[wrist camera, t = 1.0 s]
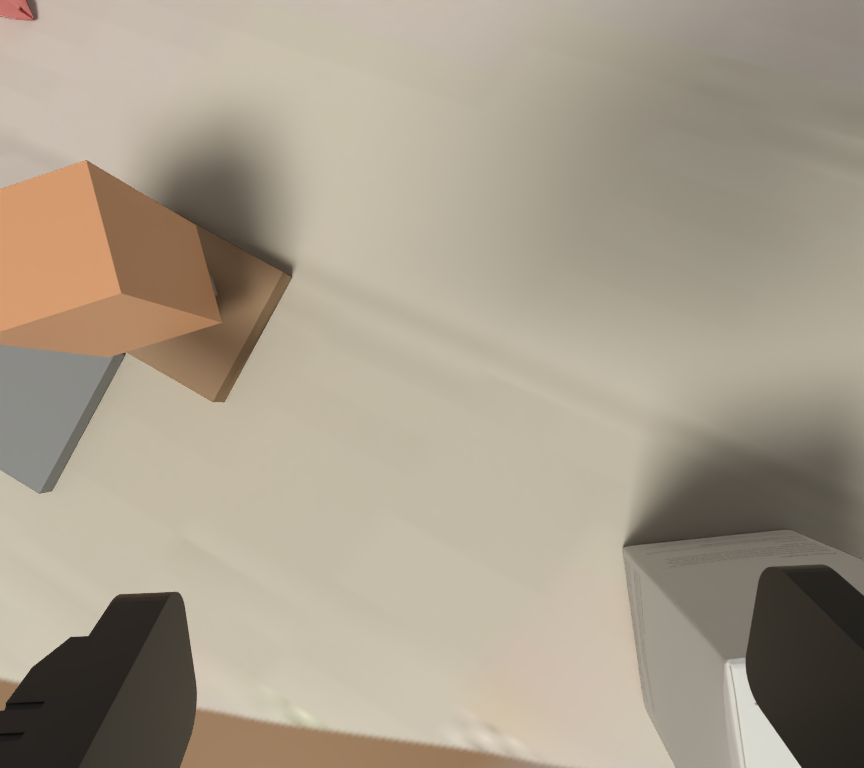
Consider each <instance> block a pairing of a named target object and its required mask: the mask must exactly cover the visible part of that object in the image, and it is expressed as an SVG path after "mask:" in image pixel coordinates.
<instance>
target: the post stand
mask: <svg viewBox="0 0 864 768" xmlns="http://www.w3.org/2000/svg"><path fill="white" fill-rule="evenodd" d="M181 217H182V216H181ZM183 218H184V217H183ZM186 220H187V219H186ZM188 221H189V220H188ZM190 222H191V221H190ZM191 223H193V222H191ZM193 224H195V223H193ZM195 225H196V224H195ZM196 228H197V232H198V235H199V239H200V243H201V246H202V250H203V254H204V257H205V261H206V265H207V269H208V272H209V276H210V280H211V283H212V287H213V291H214V295H215V298H216V302H217V306H218V309H219V313H220V317H221V321H222V323H219V324H216V325H213V326H210V327H206V328H203V329H200V330H197V331H193V332H190V333H187V334H184V335H180V336H177V337H174V338H171V339H167V340H164V341H161V342H158V343H154V344H151V345H148V346H144V347H141V348H138V349H135V350H131V351H128V352H127V353H129V354H131V355H132V356H134V357H136V358H137V359H139V360H141V361H143V362H144V363H146V364H148V365H150V366H151V367H153V368H155V369H156V370H158V371H160V372H162V373H163V374H165V375H167V376H169V377H170V378H172V379H174V380H176V381H177V382H179V383H181V384H182V385H184V386H186V387H188V388H189V389H191V390H193V391H195V392H196V393H198V394H200V395H201V396H203V397H205V398H207V399H208V400H210V401H212V402H225V400H226V398H227V396H228V394H229V392H230V391H231V389H232V387H233V385H234V383H235V381H236V379H237V378H238V376H239V374H240V372H241V370H242V368H243V367H244V365H245V363H246V361H247V359H248V357H249V356H250V354H251V352H252V350H253V348H254V346H255V344H256V343H257V341H258V339H259V337H260V335H261V333H262V332H263V330H264V328H265V326H266V324H267V322H268V321H269V319H270V317H271V315H272V313H273V311H274V310H275V308H276V306H277V304H278V302H279V300H280V298H281V297H282V295H283V293H284V291H285V289H286V287H287V286H288V284H289V282H290V280H291V278H292V277H290V276H289V275H287V274H285V273H284V272H282V271H280V270H278V269H277V268H275V267H273V266H271V265H269V264H267V263H266V262H264V261H262V260H260V259H258V258H257V257H255V256H253V255H251V254H249V253H247V252H246V251H244V250H242V249H240V248H238V247H236V246H235V245H233V244H231V243H229V242H227V241H226V240H224V239H222V238H220V237H218V236H216V235H215V234H213V233H211V232H209V231H207V230H205V229H204V228H202V227H200V226H198V225H196Z"/></svg>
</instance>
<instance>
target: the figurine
mask: <svg viewBox="0 0 864 768" xmlns="http://www.w3.org/2000/svg"><path fill="white" fill-rule="evenodd" d="M0 15H2V16H0V17H3V16H7V17H12V18H15V19H17V20H33V16H32V13H31V11H30V9H29V7H28V4H27V2H26V0H0ZM7 17H5V18H7ZM12 18H10V19H12Z"/></svg>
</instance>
